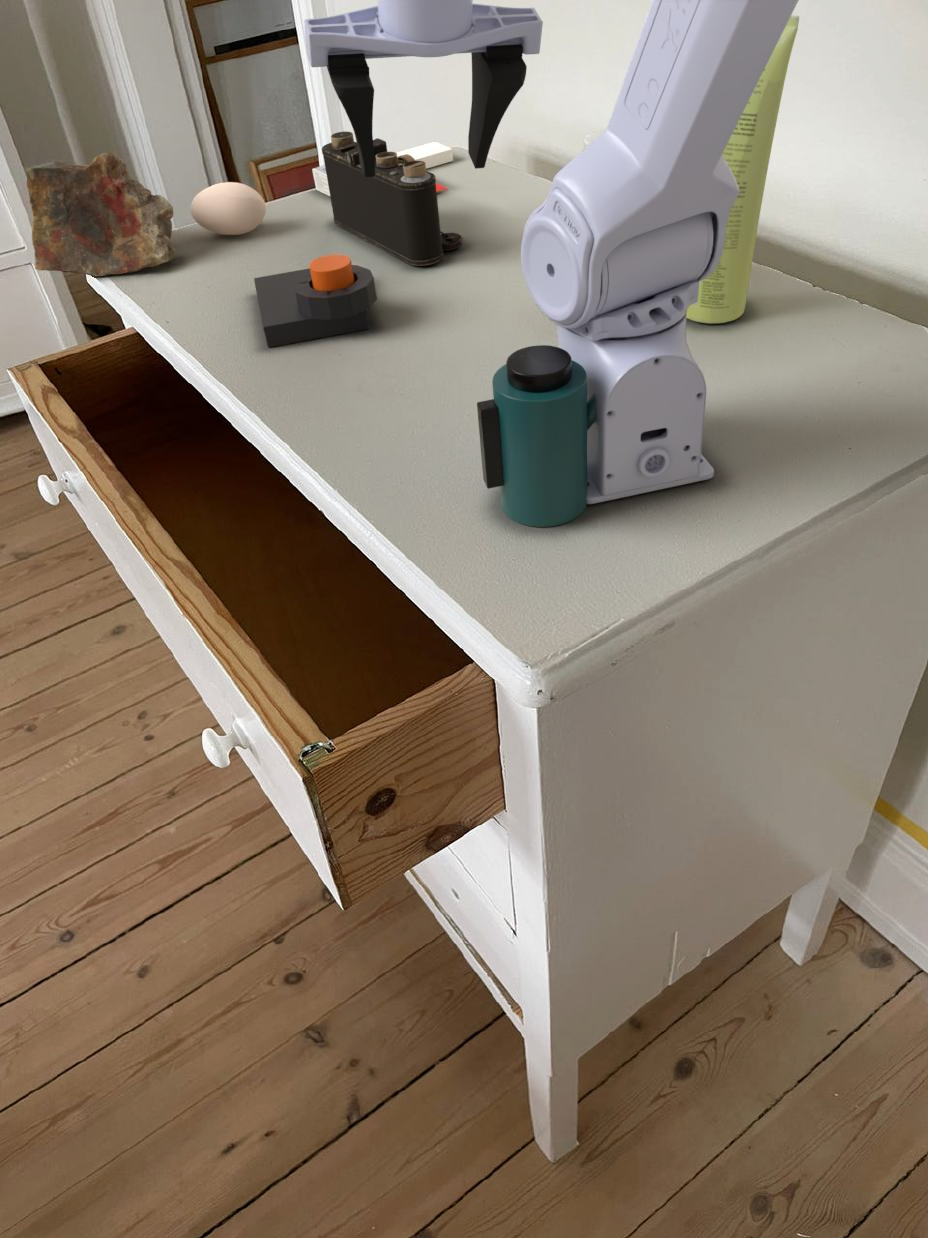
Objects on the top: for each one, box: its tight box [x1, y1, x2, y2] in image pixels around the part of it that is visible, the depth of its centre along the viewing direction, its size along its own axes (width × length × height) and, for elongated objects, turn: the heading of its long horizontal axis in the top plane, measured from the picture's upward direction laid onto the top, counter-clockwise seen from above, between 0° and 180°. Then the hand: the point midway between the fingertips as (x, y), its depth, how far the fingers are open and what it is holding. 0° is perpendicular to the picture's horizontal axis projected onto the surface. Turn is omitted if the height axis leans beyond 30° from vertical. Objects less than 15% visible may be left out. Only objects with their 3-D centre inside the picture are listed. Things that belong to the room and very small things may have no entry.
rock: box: [26, 151, 176, 277], centre depth 89 cm, size 12×12×10 cm
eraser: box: [396, 141, 454, 170], centre depth 105 cm, size 1×5×4 cm
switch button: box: [308, 254, 354, 291], centre depth 74 cm, size 3×3×2 cm
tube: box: [686, 14, 800, 324], centre depth 66 cm, size 6×5×20 cm
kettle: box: [476, 344, 597, 528], centre depth 54 cm, size 5×8×9 cm, turn 103°
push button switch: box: [253, 264, 378, 348], centre depth 78 cm, size 11×9×4 cm
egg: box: [190, 181, 267, 236], centre depth 93 cm, size 5×5×7 cm
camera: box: [321, 131, 464, 267], centre depth 87 cm, size 16×7×8 cm, turn 34°
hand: (422, 164), depth 67 cm, fingers open, 7 cm apart
